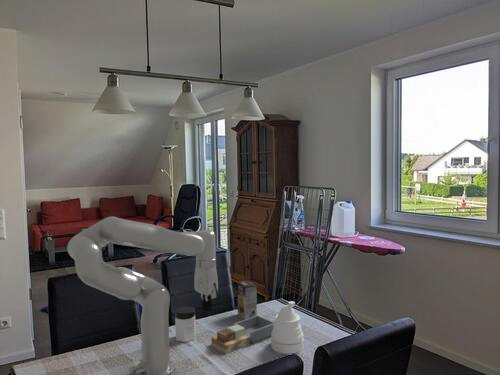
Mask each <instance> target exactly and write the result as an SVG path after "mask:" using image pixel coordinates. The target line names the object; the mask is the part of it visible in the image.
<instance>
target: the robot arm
mask: <svg viewBox="0 0 500 375" xmlns="http://www.w3.org/2000/svg"><path fill="white" fill-rule="evenodd" d="M110 243H112V244H114V245H120V246H126V247H133V248H134V247H135V248H140V249H147V250H150V251H151V250H152V251H156V252H165V253H170V254H175V255H176V254H177V255H182V256H189V257H195V268H194V275H193V276H194V277H193V278H194V279H193V280H194V281H193V283H194V284H193V285H194V286H193V287H194V291H196V292H197V293H199V295H200V298H201V300H202V301H201V304H202V311H204V312H205V313H207V312H210V311H212V310H213V299H215V298H217V293H218V292H219V281H218V279H219V278H218V272H217V255H216V254H217V253H216V249H217V248H216V233H215V232H214V230H210V229H209V230H208V229H204V230H198V231H177V230H176V231H175V230H171V229H168V228H165V227H163V226H161V225H157V224H151V223H145V222H141V221H134V220H129V219H124V218H120V217H117V216H108V217H105V218H103V219H101V220H100V221H98V222H96V223H94V224H93V225H91V226H89V227H87V228H86V229H84V230H82V231H80V232H79V233H77V234H75V235H74V236H72V238H71V239H70V240H69V241H68V243H67V250H66V251H67V254H69V256H70V257H71V259H73V260H74V267H75V271H76V274H77V277H78V278H79V279H80V280H81V281H82V282H83V283H84V284H85V285H87V286H89V287H91V288H94V289H96V290H99V291H101V292H104V293H106V294H108V295H110V296H111V295H112V296H113V297H116V298H118V299H120V300H124V301H129V300H131V301H134V302H137V303H138V304H139V305H140V306H141V309H142V310H141V316H140V333H141V335H140V336H141V337H140V338H141V359H139V363H137V365H133V366H132V367H129V368H128V372H129V374H134V373H135V374H136V375H171V374H172V373H174V371H175V363H174V362H173V361H171V359H170V358H171V356H170V354H171V352H170V351H171V350H170V327H169V326H170V325H169V324H170V323H169V310H170V304H171V303H170V302H171V296H170V292H169V290H168V289H167V287H166V286H165V285H163V284H161V283H160V282H158V281H156V280H155V279H153V278H151V277H149V276H146V275H144V274H142V273H140V272H137V271H135V270H133V269H130V268H127V267H123V266H118V267H116V266H114V265H113V264H109V263H107V262H105V260H103V251H102V248H103V247H105V246H106V245H108V244H110Z"/></svg>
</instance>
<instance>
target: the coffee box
mask: <svg viewBox="0 0 500 375" xmlns="http://www.w3.org/2000/svg"><path fill="white" fill-rule="evenodd" d="M236 284H237V285H236V287H237V288H236V289H237V293H236V294H237V315H239V316H240V317H241V319H242V320H245V319H248V318H251V317H254V316H256V315H258V314H257V310H258V308H257V307H258V305H257V301H258V300H257V298H258V297H257V296H258V295H257V294H258V292H257V284H255V283H254V282H252V281H251V280H249V279H247V280H239V281H237V282H236Z"/></svg>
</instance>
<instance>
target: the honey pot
mask: <svg viewBox="0 0 500 375" xmlns="http://www.w3.org/2000/svg"><path fill="white" fill-rule="evenodd" d="M295 305H296V302H295V301H292V300H290V301H288V304H285V305H283V306H281V308H280V310H279V312H278V314H276V315H275V317H274V320H275V321H274V322H275V324H274V327H273V330H272V333H271V337H270V342H271V343H270V347H271V349H272V350H273V351H275V352H277V353H279V354H284V355H293V353H294V354H298V353H300V352H302V351H303V350H304V343H305V342H304V336H305V335H304V332H303V330H302V329H303V328H302V326H301V323H300V320H301V317H300V315H299V314H297V313H296V312H295V310H294V309H293V308H294V306H295Z"/></svg>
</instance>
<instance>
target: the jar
mask: <svg viewBox="0 0 500 375" xmlns="http://www.w3.org/2000/svg"><path fill="white" fill-rule="evenodd" d="M174 312H175V313H174V314H175V319H174V322H175V341H176V342H177V341H178V342H183V343H186V342H191V341H194V340H195V339H196V334H197V332H196V330H197V329H196V309H195V307H192V306H181V307H178V308H176V309H175V311H174Z"/></svg>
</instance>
